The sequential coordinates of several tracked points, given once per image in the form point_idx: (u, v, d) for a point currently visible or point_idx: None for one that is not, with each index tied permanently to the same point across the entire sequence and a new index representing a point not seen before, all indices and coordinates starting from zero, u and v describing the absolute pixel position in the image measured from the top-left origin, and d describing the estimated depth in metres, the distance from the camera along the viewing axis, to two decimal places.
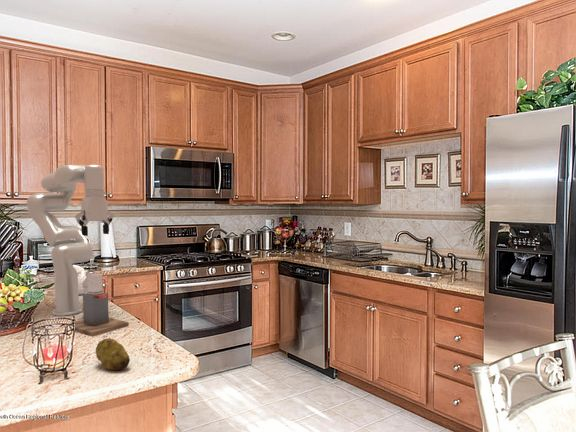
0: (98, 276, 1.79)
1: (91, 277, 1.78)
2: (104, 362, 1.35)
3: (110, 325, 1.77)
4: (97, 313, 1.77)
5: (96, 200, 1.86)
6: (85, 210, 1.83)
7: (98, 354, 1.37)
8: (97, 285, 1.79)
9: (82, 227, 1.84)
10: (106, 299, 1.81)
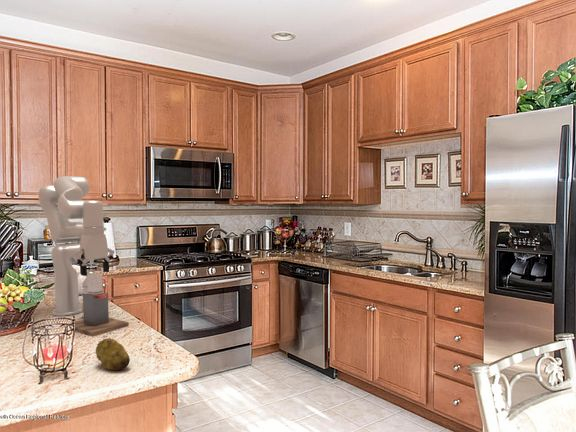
0: (98, 276, 1.79)
1: (91, 277, 1.78)
2: (104, 362, 1.35)
3: (110, 325, 1.77)
4: (97, 313, 1.77)
5: (95, 237, 1.77)
6: (84, 248, 1.74)
7: (98, 354, 1.37)
8: (97, 285, 1.79)
9: (81, 267, 1.74)
10: (106, 299, 1.81)
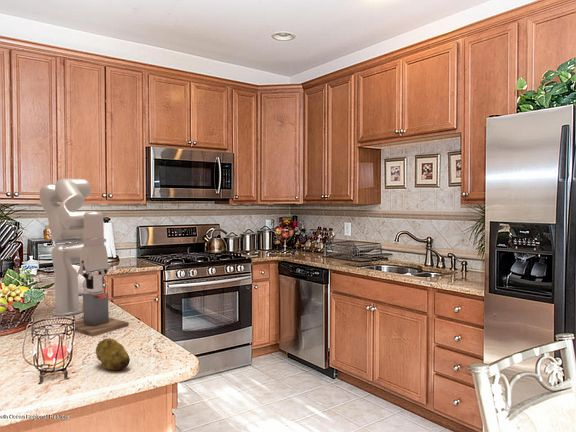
0: (98, 276, 1.79)
1: (91, 277, 1.78)
2: (104, 362, 1.35)
3: (110, 325, 1.77)
4: (97, 313, 1.77)
5: (96, 249, 1.77)
6: (84, 260, 1.75)
7: (98, 354, 1.37)
8: (97, 285, 1.79)
9: (87, 280, 1.77)
10: (106, 299, 1.81)
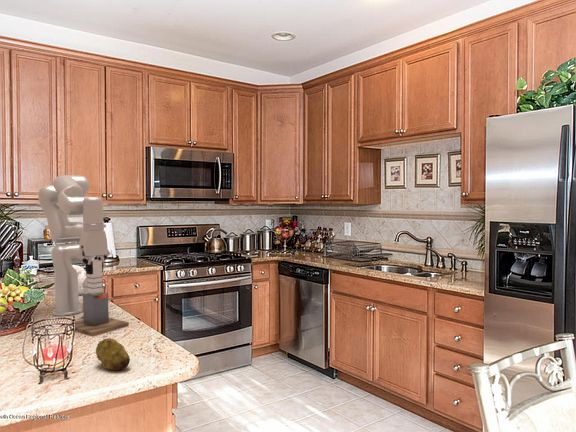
0: (98, 261, 1.79)
1: (91, 262, 1.77)
2: (104, 362, 1.35)
3: (110, 325, 1.77)
4: (97, 313, 1.77)
5: (95, 234, 1.77)
6: (84, 245, 1.74)
7: (98, 354, 1.37)
8: (97, 270, 1.78)
9: (86, 265, 1.77)
10: (106, 299, 1.81)
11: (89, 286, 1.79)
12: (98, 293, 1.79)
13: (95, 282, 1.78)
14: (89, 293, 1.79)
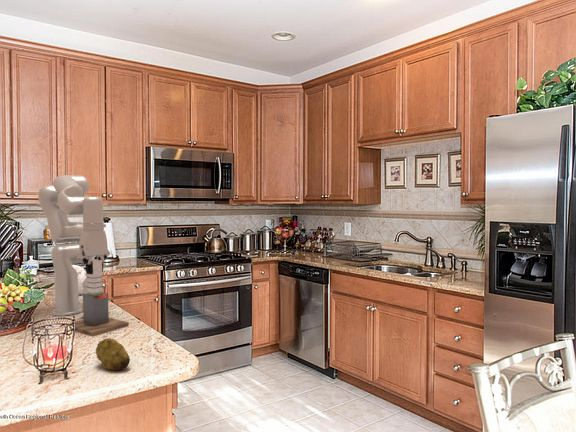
0: (98, 261, 1.79)
1: (91, 262, 1.77)
2: (104, 362, 1.35)
3: (110, 325, 1.77)
4: (97, 313, 1.77)
5: (95, 234, 1.77)
6: (84, 245, 1.74)
7: (98, 354, 1.37)
8: (97, 270, 1.78)
9: (86, 265, 1.77)
10: (106, 299, 1.81)
11: (89, 286, 1.79)
12: (98, 293, 1.79)
13: (95, 282, 1.78)
14: (89, 293, 1.79)
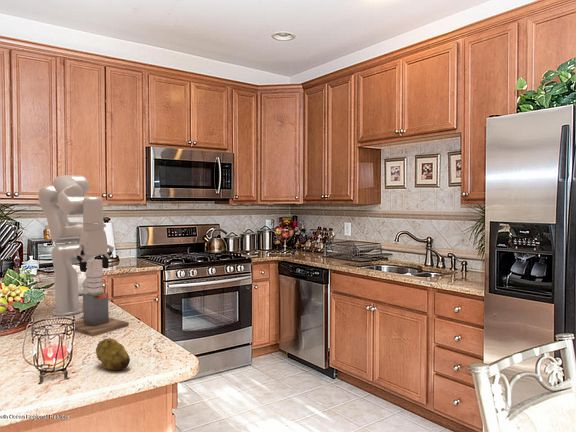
0: (98, 261, 1.79)
1: (91, 262, 1.77)
2: (104, 362, 1.35)
3: (110, 325, 1.77)
4: (97, 313, 1.77)
5: (95, 234, 1.77)
6: (84, 245, 1.74)
7: (98, 354, 1.37)
8: (97, 270, 1.78)
9: (80, 263, 1.75)
10: (106, 299, 1.81)
11: (89, 286, 1.79)
12: (98, 293, 1.79)
13: (95, 282, 1.78)
14: (89, 293, 1.79)
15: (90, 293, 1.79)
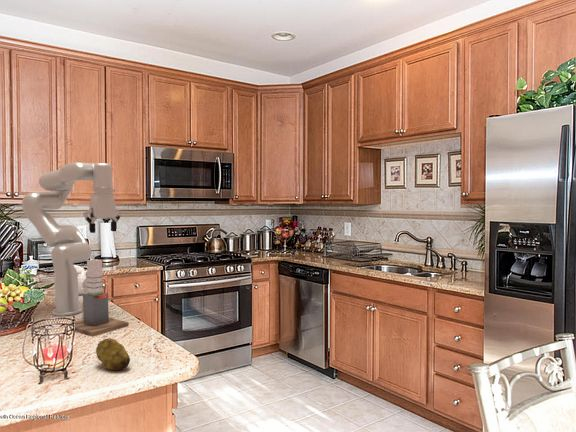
0: (98, 261, 1.79)
1: (91, 262, 1.77)
2: (104, 362, 1.35)
3: (110, 325, 1.77)
4: (97, 313, 1.77)
5: (104, 198, 1.89)
6: (93, 207, 1.87)
7: (98, 354, 1.37)
8: (97, 270, 1.78)
9: (90, 224, 1.87)
10: (106, 299, 1.81)
11: (89, 286, 1.79)
12: (98, 293, 1.79)
13: (95, 282, 1.78)
14: (89, 293, 1.79)
15: (90, 293, 1.79)
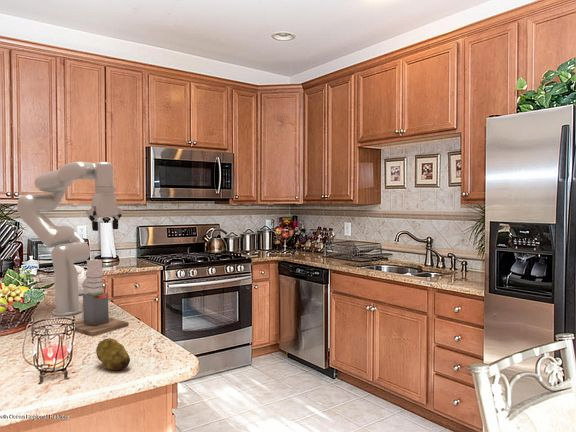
0: (98, 261, 1.79)
1: (91, 262, 1.77)
2: (104, 362, 1.35)
3: (110, 325, 1.77)
4: (97, 313, 1.77)
5: (106, 196, 1.92)
6: (96, 206, 1.89)
7: (98, 354, 1.37)
8: (97, 270, 1.78)
9: (93, 222, 1.90)
10: (106, 299, 1.81)
11: (89, 286, 1.79)
12: (98, 293, 1.79)
13: (95, 282, 1.78)
14: (89, 293, 1.79)
15: (90, 293, 1.79)
